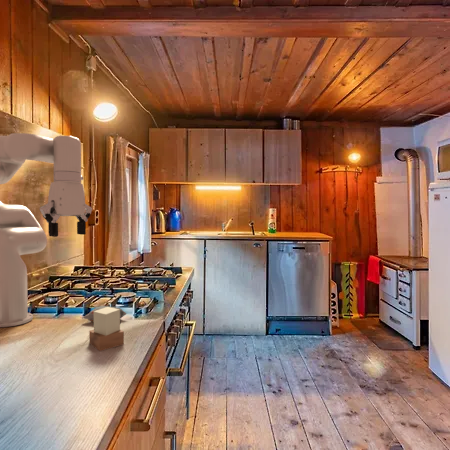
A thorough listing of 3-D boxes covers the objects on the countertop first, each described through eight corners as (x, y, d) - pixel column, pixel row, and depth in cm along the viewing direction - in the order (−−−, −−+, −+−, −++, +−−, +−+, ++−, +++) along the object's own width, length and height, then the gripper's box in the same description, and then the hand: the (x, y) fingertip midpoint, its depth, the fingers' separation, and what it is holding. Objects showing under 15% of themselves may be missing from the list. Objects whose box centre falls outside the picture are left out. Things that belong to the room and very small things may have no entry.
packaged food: (111, 327, 112) (111, 312, 111) (81, 323, 115) (81, 308, 115) (127, 320, 120) (127, 306, 120) (98, 316, 124) (98, 302, 123)
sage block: (93, 332, 97) (93, 311, 97) (108, 326, 102) (107, 306, 101) (106, 335, 95) (105, 314, 94) (120, 329, 99) (119, 309, 99)
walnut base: (89, 344, 99) (89, 330, 98) (112, 338, 103) (112, 325, 103) (99, 352, 94) (99, 337, 93) (123, 345, 98) (123, 331, 98)
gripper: (82, 181, 113) (83, 233, 114) (32, 176, 97) (32, 236, 98) (99, 180, 109) (99, 234, 110) (49, 175, 94) (50, 238, 95)
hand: (68, 235), depth 104 cm, fingers open, 9 cm apart
